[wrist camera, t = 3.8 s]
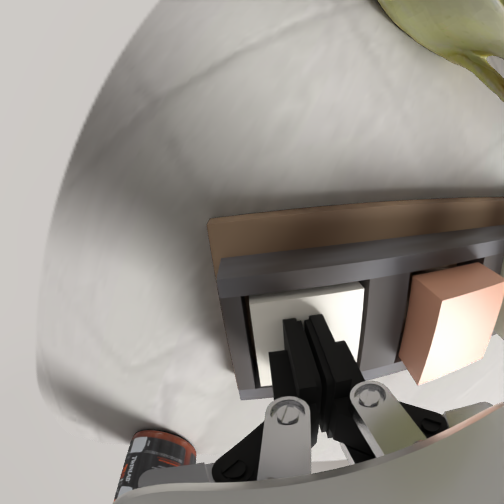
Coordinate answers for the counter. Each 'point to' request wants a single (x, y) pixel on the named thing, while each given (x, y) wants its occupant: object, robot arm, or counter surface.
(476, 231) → the key panel
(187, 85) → the counter surface
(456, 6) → the mug
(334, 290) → the key cream
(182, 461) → the supplement bottle
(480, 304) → the key terracotta
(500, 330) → the key sage
